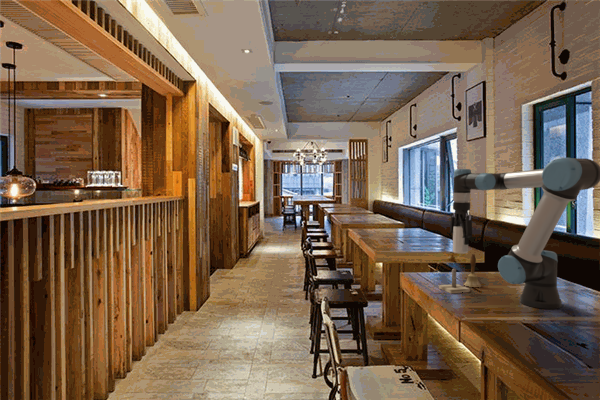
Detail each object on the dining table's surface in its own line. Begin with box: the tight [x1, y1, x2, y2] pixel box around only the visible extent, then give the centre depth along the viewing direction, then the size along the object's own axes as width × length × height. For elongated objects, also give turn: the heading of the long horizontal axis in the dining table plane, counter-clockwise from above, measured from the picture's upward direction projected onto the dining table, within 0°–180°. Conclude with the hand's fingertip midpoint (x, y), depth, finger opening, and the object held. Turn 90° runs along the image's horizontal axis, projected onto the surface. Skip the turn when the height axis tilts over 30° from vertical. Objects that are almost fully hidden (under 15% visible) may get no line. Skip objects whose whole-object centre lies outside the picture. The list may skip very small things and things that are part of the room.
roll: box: [452, 225, 469, 255], centre depth 195 cm, size 7×7×12 cm
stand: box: [438, 268, 471, 294], centre depth 197 cm, size 10×10×10 cm
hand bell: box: [463, 253, 482, 288], centre depth 206 cm, size 8×8×16 cm
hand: (460, 249), depth 195 cm, fingers closed on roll, 7 cm apart
